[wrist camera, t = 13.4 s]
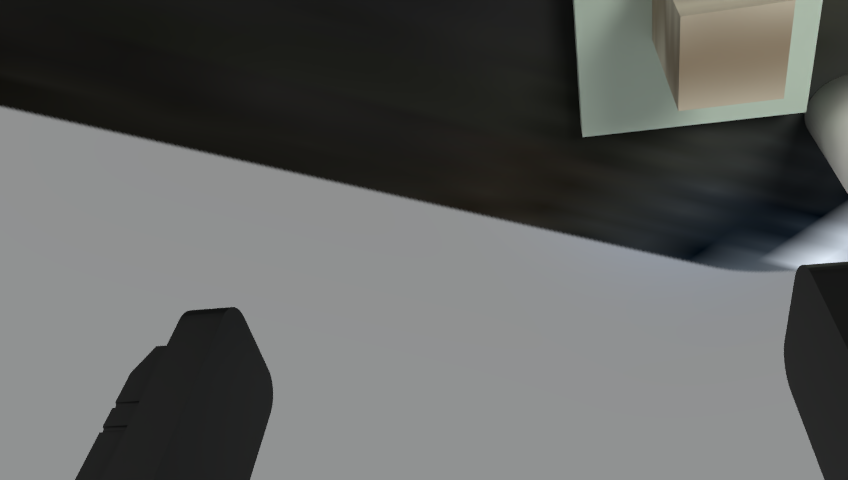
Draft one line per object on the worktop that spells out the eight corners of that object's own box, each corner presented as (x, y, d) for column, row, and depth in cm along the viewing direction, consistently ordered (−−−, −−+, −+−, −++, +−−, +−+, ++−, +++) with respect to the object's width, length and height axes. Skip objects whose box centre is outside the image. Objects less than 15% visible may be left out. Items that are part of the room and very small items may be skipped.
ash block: (652, -45, 33) (680, 16, 27) (747, -60, 32) (795, 0, 27) (652, 39, 35) (678, 110, 30) (740, 27, 35) (783, 98, 29)
